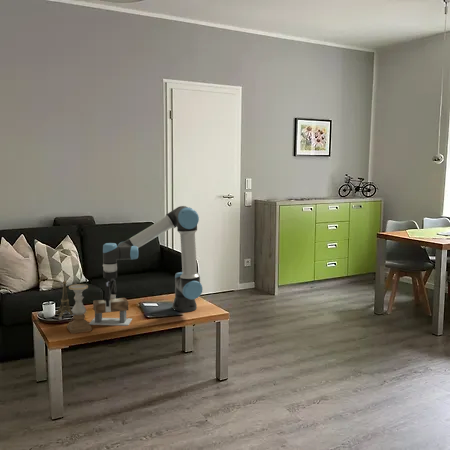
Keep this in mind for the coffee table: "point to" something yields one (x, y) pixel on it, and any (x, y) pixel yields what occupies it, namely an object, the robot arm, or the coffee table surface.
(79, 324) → the candle holder
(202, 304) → the coffee table surface
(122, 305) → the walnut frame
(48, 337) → the coffee table surface
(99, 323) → the board
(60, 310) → the eiffel tower
